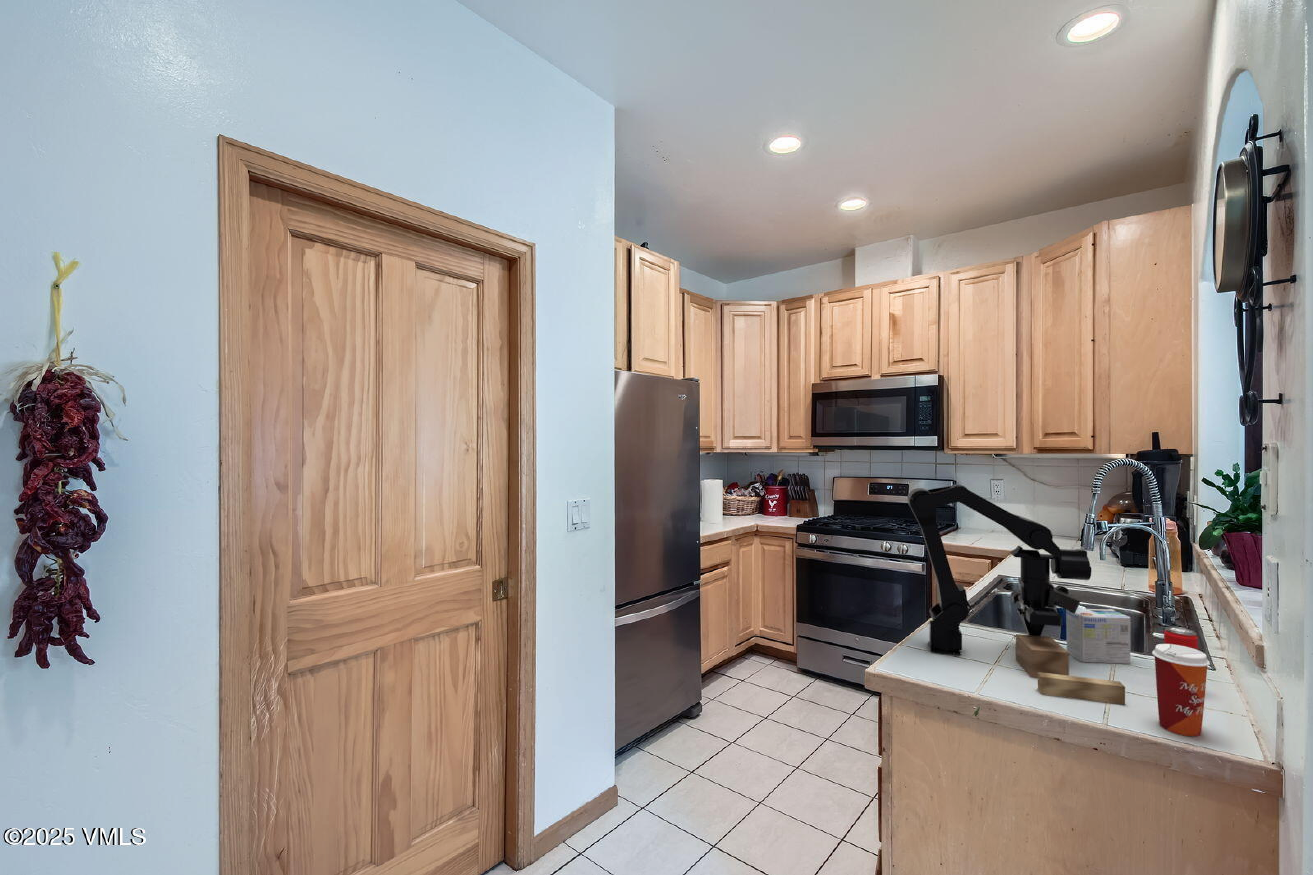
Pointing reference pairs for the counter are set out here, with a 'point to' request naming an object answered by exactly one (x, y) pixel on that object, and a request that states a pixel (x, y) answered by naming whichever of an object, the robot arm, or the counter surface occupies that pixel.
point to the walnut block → (1041, 655)
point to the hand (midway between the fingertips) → (1034, 643)
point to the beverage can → (1181, 637)
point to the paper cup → (1180, 688)
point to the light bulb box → (1098, 636)
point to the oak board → (1081, 688)
